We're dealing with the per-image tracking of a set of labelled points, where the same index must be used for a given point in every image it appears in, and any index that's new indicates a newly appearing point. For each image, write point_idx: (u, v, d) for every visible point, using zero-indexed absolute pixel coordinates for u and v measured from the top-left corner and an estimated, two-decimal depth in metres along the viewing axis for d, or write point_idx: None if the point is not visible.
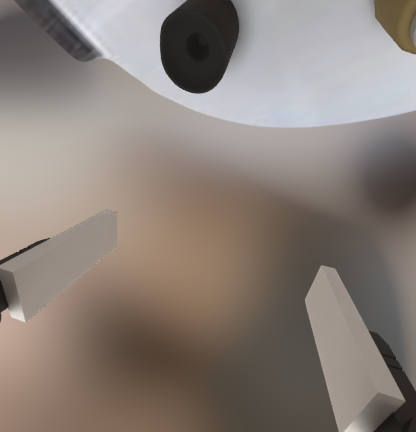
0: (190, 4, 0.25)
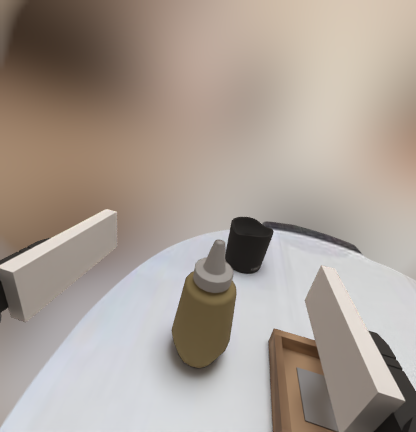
0: (269, 241, 0.47)
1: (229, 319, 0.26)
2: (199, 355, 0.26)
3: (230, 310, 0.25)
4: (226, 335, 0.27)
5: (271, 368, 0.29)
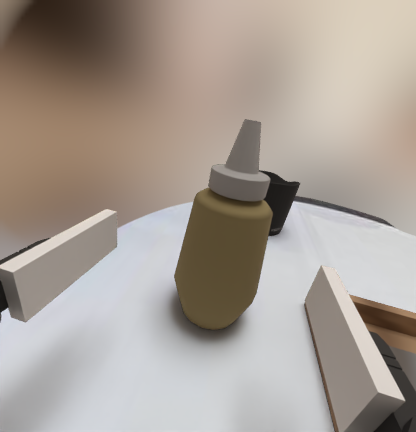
0: (295, 194, 0.38)
1: (262, 251, 0.17)
2: (215, 304, 0.17)
3: (265, 234, 0.16)
4: (255, 277, 0.18)
5: None
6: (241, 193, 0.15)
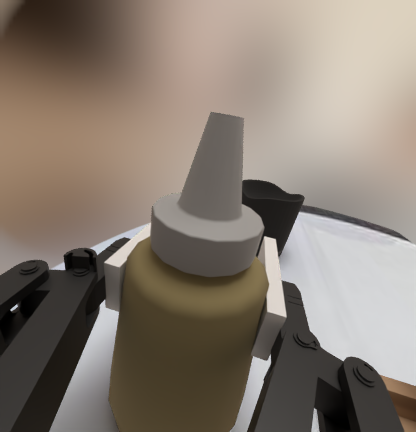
0: (298, 211, 0.30)
1: (249, 353, 0.09)
2: None
3: (254, 330, 0.09)
4: (239, 393, 0.10)
5: None
6: (203, 264, 0.07)
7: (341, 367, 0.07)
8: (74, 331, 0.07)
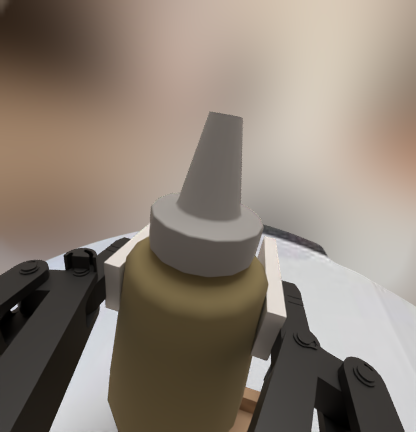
0: None
1: (249, 354, 0.09)
2: None
3: (253, 330, 0.09)
4: (239, 393, 0.10)
5: None
6: (202, 265, 0.07)
7: (341, 367, 0.07)
8: (74, 331, 0.07)
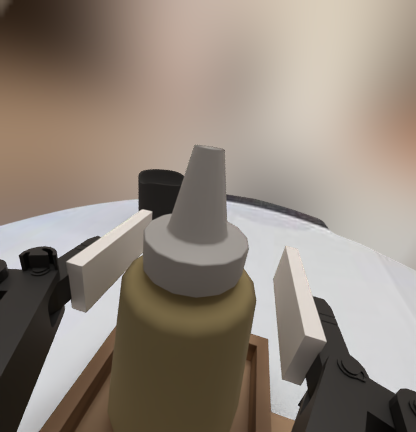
0: None
1: (239, 367, 0.10)
2: None
3: (241, 345, 0.09)
4: (231, 404, 0.11)
5: None
6: (190, 286, 0.08)
7: (394, 398, 0.07)
8: (37, 330, 0.07)
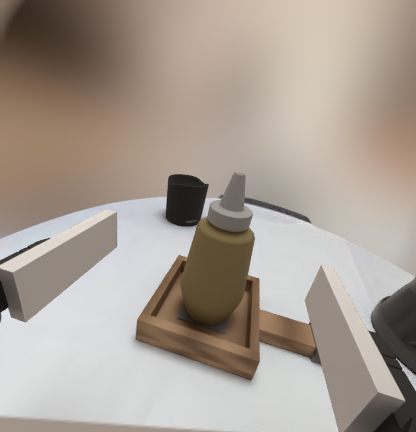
0: (203, 194, 0.49)
1: (246, 266, 0.23)
2: (211, 305, 0.23)
3: (248, 254, 0.22)
4: (241, 286, 0.24)
5: None
6: (230, 226, 0.21)
7: None
8: None
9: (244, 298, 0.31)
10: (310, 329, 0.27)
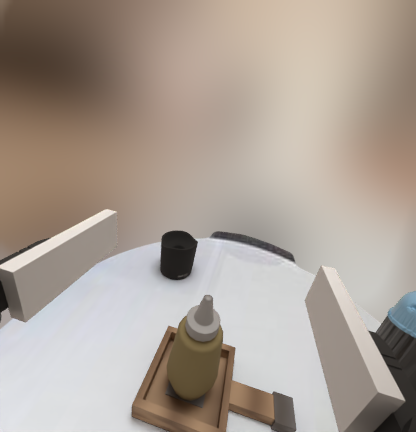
0: (192, 253, 0.55)
1: (216, 361, 0.30)
2: (189, 392, 0.30)
3: (217, 355, 0.29)
4: (214, 374, 0.30)
5: None
6: (201, 339, 0.27)
7: None
8: None
9: (222, 366, 0.38)
10: (272, 399, 0.34)
